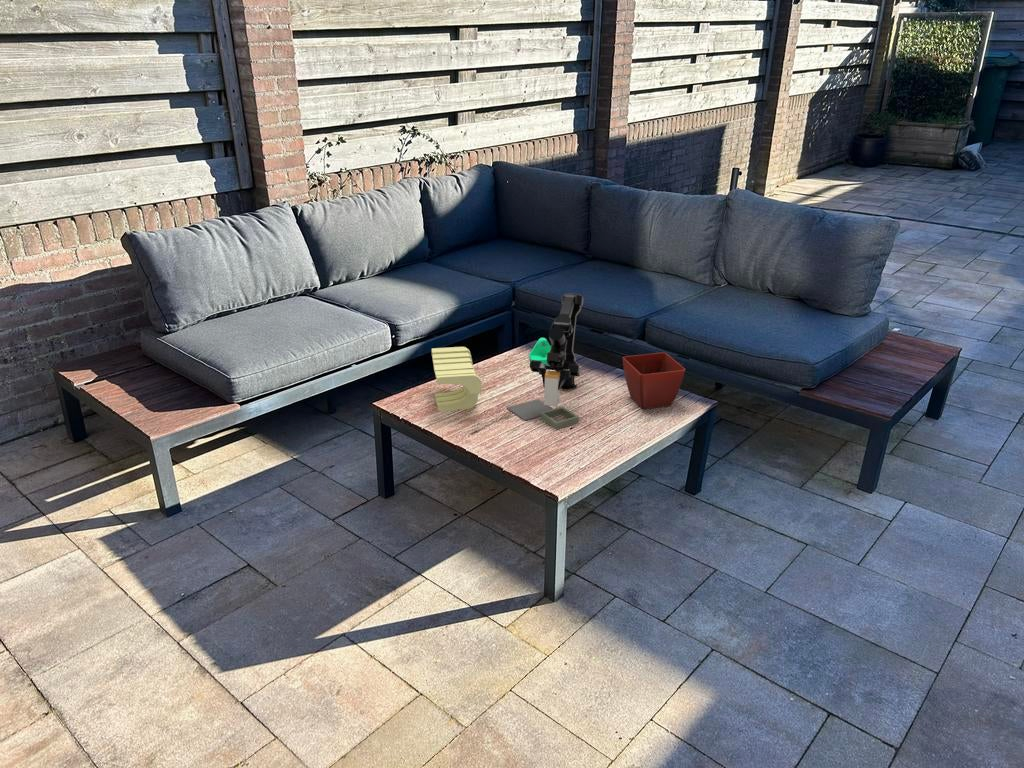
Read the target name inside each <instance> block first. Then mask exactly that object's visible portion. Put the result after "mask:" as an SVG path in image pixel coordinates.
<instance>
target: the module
mask: <svg viewBox="0 0 1024 768" xmlns="http://www.w3.org/2000/svg"><path fill="white" fill-rule="evenodd" d="M559 381H560V372H556V371H555V370H546V374H545V389H544V397H543V398H544V399H543V400H544V401H543V402H544V405H548V406H550V407H558V405H559V403H560V392H561V391H560V390H558V384H559Z"/></svg>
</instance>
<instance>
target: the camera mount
mask: <svg viewBox="0 0 1024 768" xmlns="http://www.w3.org/2000/svg"><path fill="white" fill-rule="evenodd" d="M550 344H551V343H549V341H548V340H547V338H545V337H540V338H539V339H538V340H537V341H536V343H535V345H533V347H532V349H531V351H530V352H529V354H528V359H529V360H530V362H531V361H532V360H538V361H541V363H542V364H547V365H548V363H547V352H549V353H550V350H551V345H550Z"/></svg>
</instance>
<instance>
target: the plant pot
mask: <svg viewBox="0 0 1024 768" xmlns="http://www.w3.org/2000/svg"><path fill="white" fill-rule="evenodd" d="M622 367H623V372H624V373H623V374H624V378H625V382H626V386H627V389H628V393H629V397H630V398H631V399H632V400H633V401H634V402H635V403H636V404H637V406H639V407H640V408H641V409H642V410H646V409H655V408H664V407H670V406H672V404H673V403H674V400H675V399H676V397H677V395H678V392H679V390H680V388H681V385H682V383H683V380H684V376H685V373H686V368H685V367H683V366H682V365H681V364H680V363H679V362H677V360H675V359H674V358H673V357H671V356H670V355H669V354H668V353H666V352H654V353H646V354H645V353H643V354H636V355H627V356H623V357H622Z"/></svg>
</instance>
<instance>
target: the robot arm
mask: <svg viewBox="0 0 1024 768" xmlns="http://www.w3.org/2000/svg"><path fill="white" fill-rule="evenodd" d="M584 302H585V301H584V296H582V295H581V294H579V293H569V292H566V293H564V294H562V295H561V302H560V303H561V304H562V305H561V308H560V312H559V315H558V316H556V317H554V320H553V322H552V323H551V325H550V328H549V331H548V337H549V342H550V344H551V345H550V346H551V350H550V353H549V352H547V363H548V365H547V364H542V363H541V361H538V360H532V361H531V360H530V362H529V369H530V371H531V372H532V373H538V374H539V375H541V380H542V386H543V389H544V390H545V374H546V372H547V371H556V372H560V381H559V384H558V390H560V389H562V390H564V391H566V390H570V389H573V388H577V384H575V380H576V379H575V377H580V373H581V368H580V365H579V364H578V361H577V357H576V354H575V353H574V345H575V344H574V343H575V336H576V335H575V334H576V327H577V324H576V323H577V316H578V315H579V314H580V313H581V311H582V307H583V305H584Z"/></svg>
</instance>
